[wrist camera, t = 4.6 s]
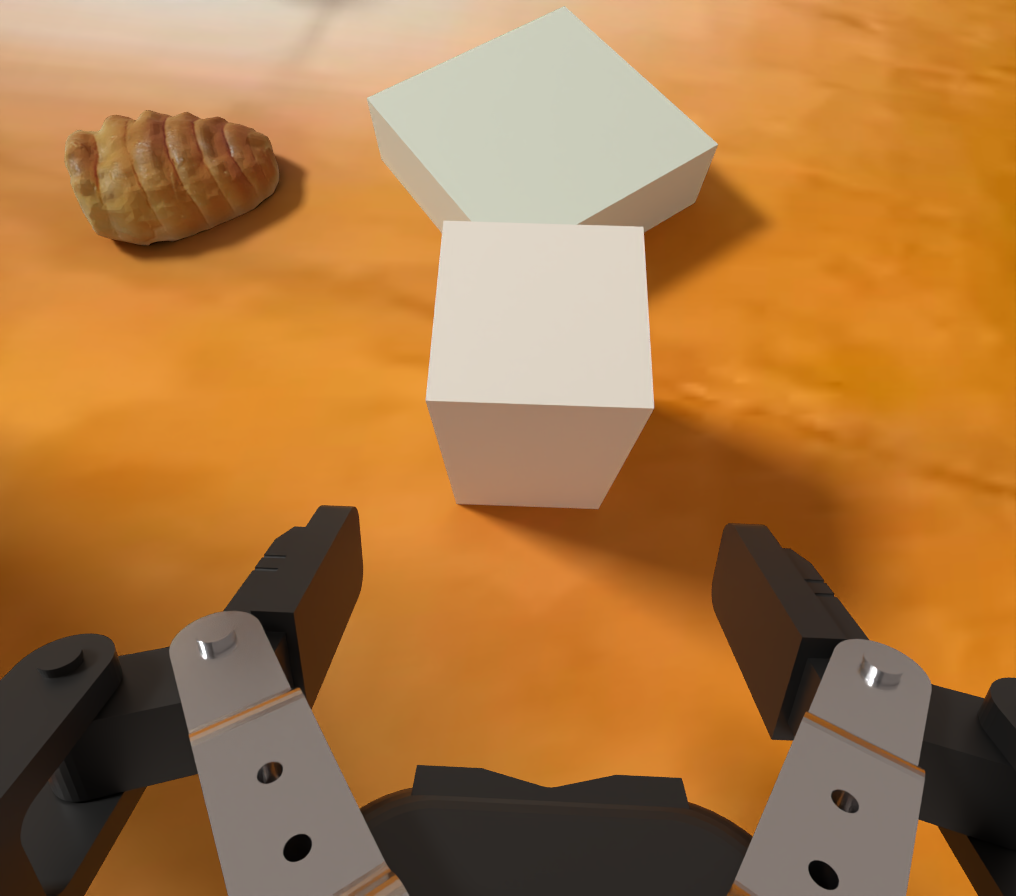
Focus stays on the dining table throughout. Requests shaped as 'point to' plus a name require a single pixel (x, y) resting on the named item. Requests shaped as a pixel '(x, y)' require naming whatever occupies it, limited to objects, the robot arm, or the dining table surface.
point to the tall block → (539, 360)
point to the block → (541, 134)
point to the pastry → (168, 175)
